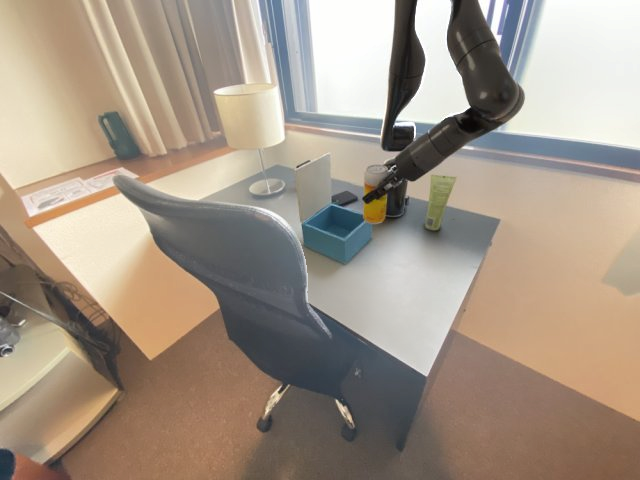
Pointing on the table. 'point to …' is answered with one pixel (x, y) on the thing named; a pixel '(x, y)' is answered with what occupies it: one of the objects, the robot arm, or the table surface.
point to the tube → (438, 199)
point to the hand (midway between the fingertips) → (369, 195)
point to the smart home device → (343, 198)
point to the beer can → (375, 208)
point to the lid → (313, 186)
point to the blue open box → (336, 232)
